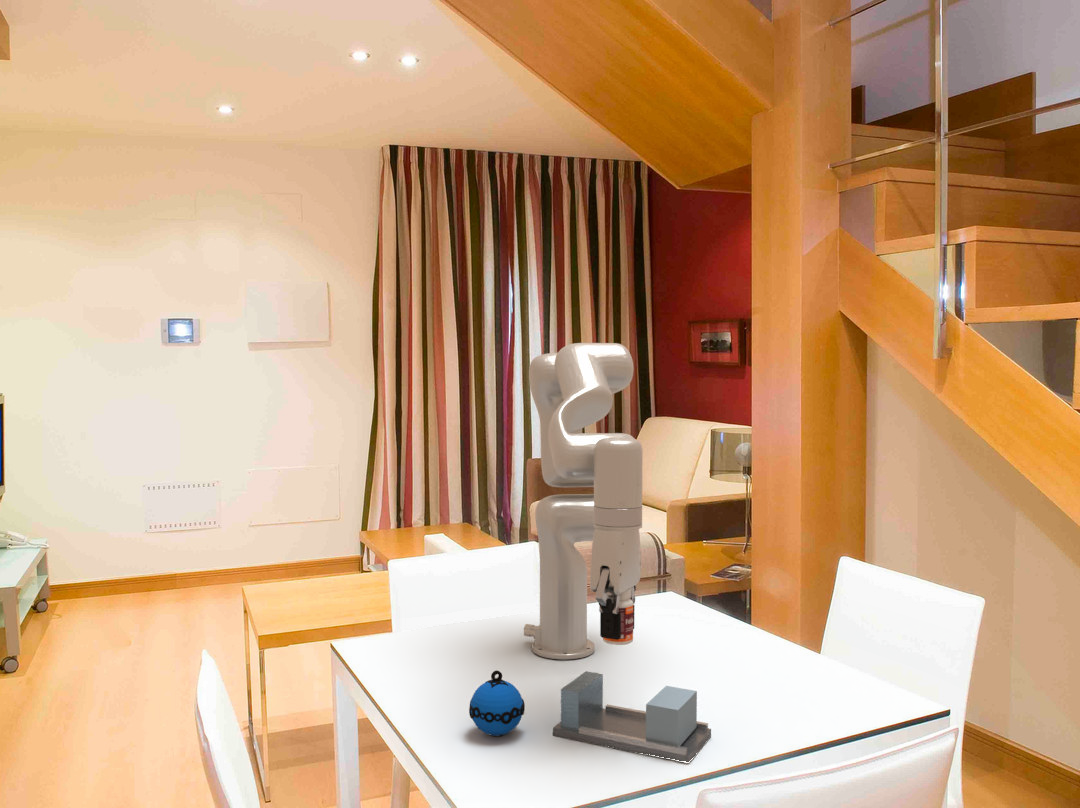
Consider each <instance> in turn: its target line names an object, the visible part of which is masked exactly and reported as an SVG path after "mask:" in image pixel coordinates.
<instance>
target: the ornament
mask: <svg viewBox="0 0 1080 808" xmlns="http://www.w3.org/2000/svg"><path fill="white" fill-rule="evenodd" d="M490 675H491V676H490V677H491V679H489V680H487V681H485V682H484V683H482V684H481V685H479V686H478V687H477V688H476V689H475V691H474V692H473V695H472V696H471V698H470V701H469V707H468V714H469V718H470V719H472V721H473V724H474V725H475V726H476V728H478V730H479V731H481V732H482V733H484V734H485V735H488V736H494V737H498V736H499V737H501V736H503V735H504V736H505V735H506V734H508V733H510V732H511V731H513V730H515V728H516V727H517V726H518V725H519V723H520V721H521V720H522V717H523V716H524V714H525V707H526V705H525V701H524V698H522V695H521V693H520V691H519V690H518V689H517V687H516V686H514V684H512V683H510V682H509V681H507V680H504V679H503V674H502V672H501V671H499V670H494V671H492V673H491V674H490ZM496 675H498V676H497V677H496Z"/></svg>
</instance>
